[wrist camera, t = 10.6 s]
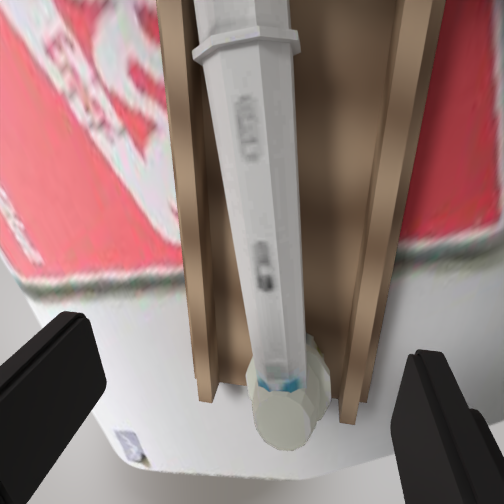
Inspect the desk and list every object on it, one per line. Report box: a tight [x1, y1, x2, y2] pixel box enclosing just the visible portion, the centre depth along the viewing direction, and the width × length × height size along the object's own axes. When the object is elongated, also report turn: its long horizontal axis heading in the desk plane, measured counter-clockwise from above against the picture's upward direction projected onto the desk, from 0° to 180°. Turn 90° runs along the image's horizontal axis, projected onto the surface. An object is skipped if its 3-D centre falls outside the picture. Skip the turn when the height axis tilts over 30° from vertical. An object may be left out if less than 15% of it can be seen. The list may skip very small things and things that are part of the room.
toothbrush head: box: [192, 0, 331, 451], centre depth 18 cm, size 5×7×25 cm
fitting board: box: [156, 0, 446, 425], centre depth 17 cm, size 30×13×7 cm, turn 0°
